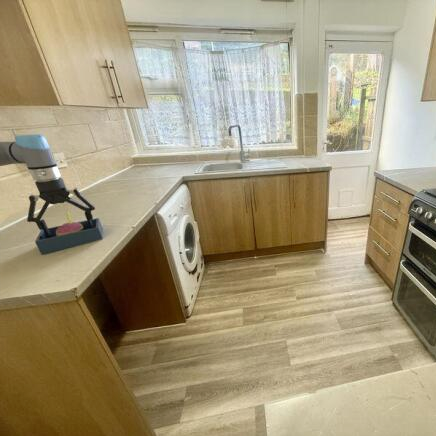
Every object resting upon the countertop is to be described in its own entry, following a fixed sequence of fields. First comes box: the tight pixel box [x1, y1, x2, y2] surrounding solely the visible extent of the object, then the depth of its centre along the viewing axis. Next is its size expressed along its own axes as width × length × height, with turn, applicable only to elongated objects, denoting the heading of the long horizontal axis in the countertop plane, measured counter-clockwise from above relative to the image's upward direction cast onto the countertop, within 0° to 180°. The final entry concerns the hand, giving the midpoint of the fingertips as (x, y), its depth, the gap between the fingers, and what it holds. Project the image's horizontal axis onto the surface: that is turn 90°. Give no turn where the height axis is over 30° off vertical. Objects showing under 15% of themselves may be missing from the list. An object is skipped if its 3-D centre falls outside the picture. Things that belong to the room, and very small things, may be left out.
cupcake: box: [55, 210, 83, 236], centre depth 97 cm, size 9×8×12 cm
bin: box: [34, 217, 104, 255], centre depth 98 cm, size 19×13×6 cm
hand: (71, 231), depth 98 cm, fingers open, 12 cm apart
